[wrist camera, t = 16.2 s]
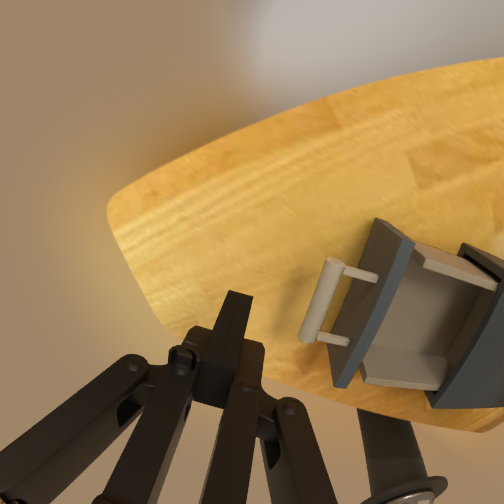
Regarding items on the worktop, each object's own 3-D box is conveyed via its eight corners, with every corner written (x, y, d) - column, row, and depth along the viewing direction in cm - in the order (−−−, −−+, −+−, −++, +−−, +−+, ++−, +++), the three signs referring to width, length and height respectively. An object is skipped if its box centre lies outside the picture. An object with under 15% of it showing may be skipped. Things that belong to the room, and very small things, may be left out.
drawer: (286, 333, 29) (285, 378, 23) (329, 203, 25) (344, 220, 18) (439, 362, 29) (460, 399, 22) (490, 260, 24) (526, 286, 18)
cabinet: (407, 357, 30) (431, 408, 22) (462, 242, 25) (511, 273, 17) (490, 367, 30) (516, 405, 21) (538, 276, 25) (576, 305, 16)
